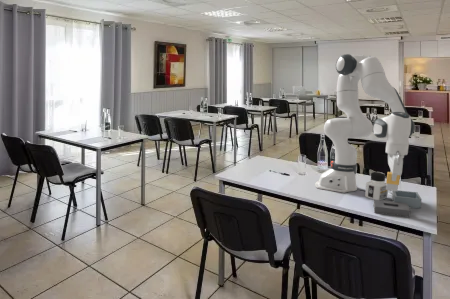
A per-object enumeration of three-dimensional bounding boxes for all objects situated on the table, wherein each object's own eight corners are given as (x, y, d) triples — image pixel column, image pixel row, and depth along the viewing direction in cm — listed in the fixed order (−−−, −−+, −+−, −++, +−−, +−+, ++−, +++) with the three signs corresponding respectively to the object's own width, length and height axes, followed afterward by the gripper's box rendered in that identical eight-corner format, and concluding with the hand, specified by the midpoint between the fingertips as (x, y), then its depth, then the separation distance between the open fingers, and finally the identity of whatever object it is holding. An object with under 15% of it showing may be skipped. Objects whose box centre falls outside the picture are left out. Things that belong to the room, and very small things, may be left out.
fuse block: (374, 212, 152) (375, 206, 152) (373, 205, 161) (373, 199, 161) (409, 217, 147) (410, 210, 147) (406, 209, 157) (406, 203, 156)
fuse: (385, 190, 153) (387, 173, 151) (385, 188, 155) (387, 171, 153) (398, 191, 151) (400, 174, 149) (397, 190, 153) (399, 173, 151)
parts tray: (394, 205, 161) (395, 196, 160) (391, 198, 171) (392, 189, 171) (420, 208, 158) (421, 199, 157) (416, 200, 168) (417, 192, 167)
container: (379, 201, 167) (381, 175, 165) (364, 196, 173) (367, 172, 171) (387, 198, 172) (389, 173, 169) (373, 194, 178) (375, 170, 175)
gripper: (408, 155, 138) (404, 187, 141) (401, 145, 157) (398, 173, 160) (391, 153, 140) (387, 185, 143) (386, 144, 159) (383, 172, 162)
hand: (393, 179), depth 152 cm, fingers closed on fuse, 2 cm apart
